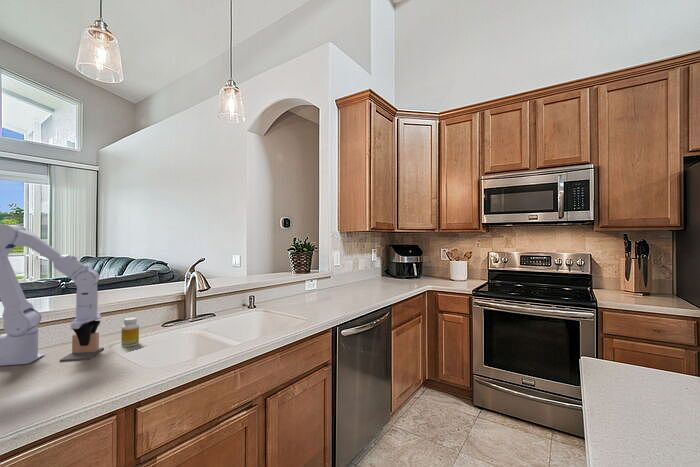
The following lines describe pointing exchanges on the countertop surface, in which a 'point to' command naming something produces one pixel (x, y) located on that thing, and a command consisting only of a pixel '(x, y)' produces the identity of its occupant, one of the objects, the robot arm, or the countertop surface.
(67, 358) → the mat
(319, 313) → the countertop surface
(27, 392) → the countertop surface
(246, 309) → the countertop surface
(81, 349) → the light wood block
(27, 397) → the countertop surface
